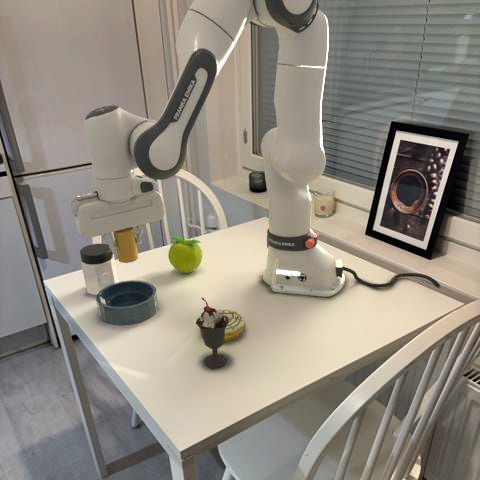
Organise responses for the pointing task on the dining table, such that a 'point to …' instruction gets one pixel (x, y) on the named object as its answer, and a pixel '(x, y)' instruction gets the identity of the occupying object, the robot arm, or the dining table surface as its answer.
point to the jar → (98, 267)
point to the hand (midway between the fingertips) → (126, 246)
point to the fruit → (185, 254)
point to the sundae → (213, 334)
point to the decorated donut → (232, 324)
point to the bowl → (127, 302)
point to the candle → (126, 245)
